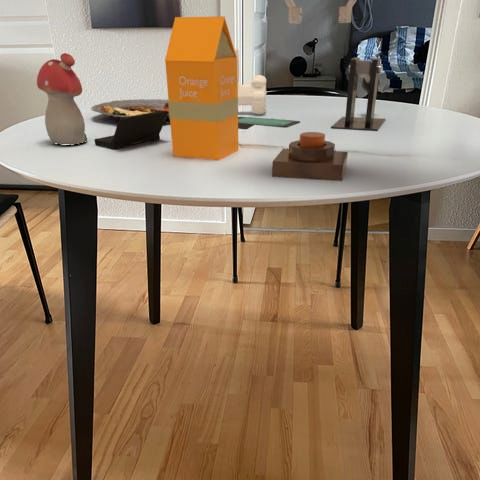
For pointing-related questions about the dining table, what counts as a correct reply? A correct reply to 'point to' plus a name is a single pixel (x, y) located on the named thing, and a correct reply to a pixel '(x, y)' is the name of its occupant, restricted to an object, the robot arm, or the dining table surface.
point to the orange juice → (202, 88)
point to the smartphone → (264, 122)
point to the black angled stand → (135, 130)
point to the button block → (310, 162)
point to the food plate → (131, 107)
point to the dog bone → (254, 94)
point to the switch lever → (365, 73)
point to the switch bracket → (349, 120)
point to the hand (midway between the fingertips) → (319, 23)
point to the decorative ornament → (62, 101)
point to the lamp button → (312, 139)
